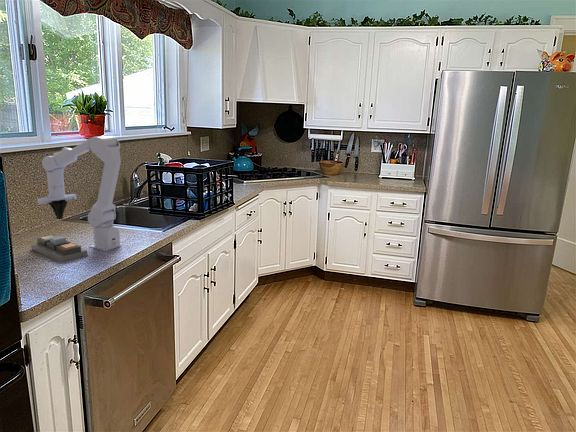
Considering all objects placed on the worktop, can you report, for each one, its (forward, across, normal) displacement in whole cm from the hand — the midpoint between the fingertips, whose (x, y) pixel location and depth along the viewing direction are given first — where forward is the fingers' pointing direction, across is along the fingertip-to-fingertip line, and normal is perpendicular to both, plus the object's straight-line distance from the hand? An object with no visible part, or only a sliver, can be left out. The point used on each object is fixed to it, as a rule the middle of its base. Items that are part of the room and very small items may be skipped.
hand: (59, 218), depth 171 cm
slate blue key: (+6, +8, +14) cm, 17 cm away
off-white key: (+7, +8, +6) cm, 12 cm away
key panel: (+9, +8, +14) cm, 18 cm away
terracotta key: (+7, +8, +21) cm, 24 cm away
